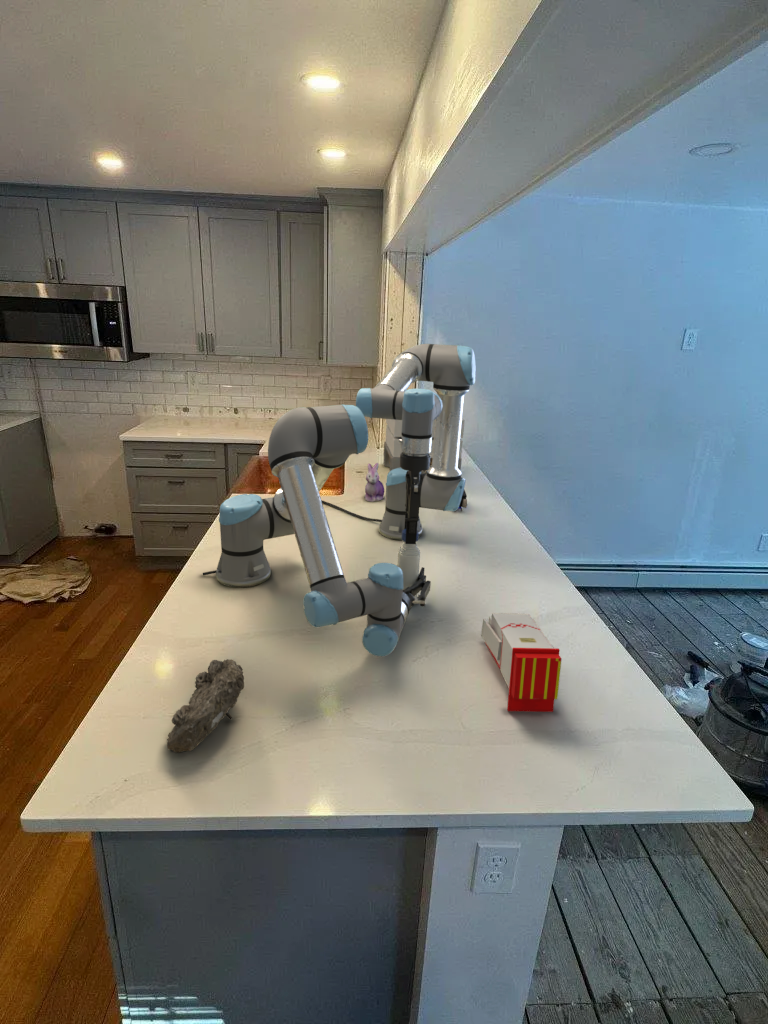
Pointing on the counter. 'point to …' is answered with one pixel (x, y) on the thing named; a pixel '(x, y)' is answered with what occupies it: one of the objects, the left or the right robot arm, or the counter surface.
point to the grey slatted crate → (394, 447)
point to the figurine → (373, 485)
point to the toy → (523, 661)
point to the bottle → (409, 564)
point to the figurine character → (463, 501)
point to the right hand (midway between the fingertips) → (409, 539)
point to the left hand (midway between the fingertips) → (411, 570)
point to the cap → (405, 535)
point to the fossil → (206, 705)
